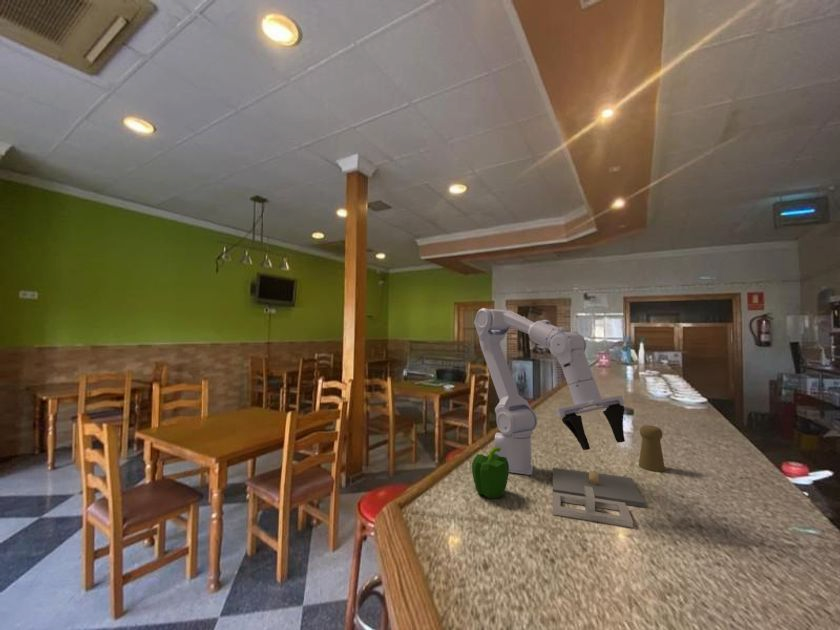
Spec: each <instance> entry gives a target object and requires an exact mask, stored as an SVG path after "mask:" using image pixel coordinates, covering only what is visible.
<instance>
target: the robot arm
mask: <svg viewBox="0 0 840 630" xmlns="http://www.w3.org/2000/svg"><path fill="white" fill-rule="evenodd" d="M473 324H474V327H475V329H476V333H477V334H478V335H477V336H478V338H479V339H478V340H479V341H478V342H479V345H480V349H481V352H482V354H483V357H484V361H485V363H486V367H487V368H488V371H489V375H490V378H491V379H492V383H493V386H494V389H495V391H496V394H497V398H498V400H499V402H498V403H497V405H495V408H494V412H495V416H496V417H495V418H496V425H497V429H498V430H499V431H500V432H496V433H495V435H494V443H493V445H494V446H493V448H495V447H499V448H501V450H500V451H499V452H498V451H496V452H495V453H494V454H497V455H499V456H500V457H506V458H507V461H508V465H509V473H514V474H522V475H528V476H529V475H530V476H532V475H533V470H534V463H533V462H532V435H533V434H534V433H533V431H534V430H535V429H536V427H537V426H538V416H537V414H536V412H535V411H534V410H533V409H532V407H531V406H530V403H529V401H528V400H527V399H525V398H524V397H523V396H521V395H519V391H518V388H517V386H516V384H515V380H514V379H513V375H512V373H511V370H510V368H509V365H508V362H507V360H506V357H505V355H504V351H503V348H502V347H501V341H504V339H505V337H506V336H507V335H508V333H509V332H510V330H511V328H513V329H515V330H517V331H520V332H522V333H524V334H527V335H528V337H529V339H530V341H531V342H533V343H535V344H537V345H539V346H541V347H544V348H546V349H547V350H549V351H550V354H551V355H553V356H554V357H555V358H556V359H557V362H558V364H560V367H561V369H562V372H563V374H564V378H565V380H566V383H567V386H568V389H569V393H570V395H571V399H572V400H573V404H572V405H568V406H564V407H559V408H556V409H555V413H556V415H557V419H561V422H562V423H563V425H565V426H566V427H567V429H569V431H570V432H571V433H572V434H573V436H574V437H575V439H576V440H577V441H578V443H579V445H580V446H581V449H582V451H587V450H591V446H590V443H589V441H588V438H587V436H586V431H585V429H584V424H583V419H582V415H580V414H584V413H589V412H593V411H599V410H602V409H603V412H602V413H603V414H604V417H605V418H606V420H607V422H608V423H609V426H610V428H611V431H612V433H613V436H614V439H615V441H616V443H625V442H626V441H625V435H624V415H625V411H626V410H625V407H624V405H625V404H626V403H625V401H624V398H623V395H621V394H620V395H617V396H616V395H615V396H611V397H606V398H605V397H604V398H602V396H601V393H600V391H599V388H598V385H597V382H596V379H595V377H594V375H593V372H592V370H591V365H590V364H589V361H588V358H587V356H586V354H585V352H586V349H587V343H586V342H587V341H586V339H585V337H584V336H583V335H582V334H581V333H579V332H578V331H569V332H568V331H566V328H565V327H562V326H555V325H553V324H551V323H550V320H548V319H542V320H537V321H535V322H534V321H532V320H531V319H528V318H526V317H524V316H522V315H521V314H518V313H516V312H514V311H512V310H508V309H506V308H505V309H495V308H493V309H492V308H485V307H482V308H480V309H479V310H478V311H477V313H476V315H475V318H474V321H473ZM593 406H596V407H593ZM590 407H591V408H590ZM592 407H593V408H592ZM585 408H588V409H585ZM604 409H605V410H604Z"/></svg>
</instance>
